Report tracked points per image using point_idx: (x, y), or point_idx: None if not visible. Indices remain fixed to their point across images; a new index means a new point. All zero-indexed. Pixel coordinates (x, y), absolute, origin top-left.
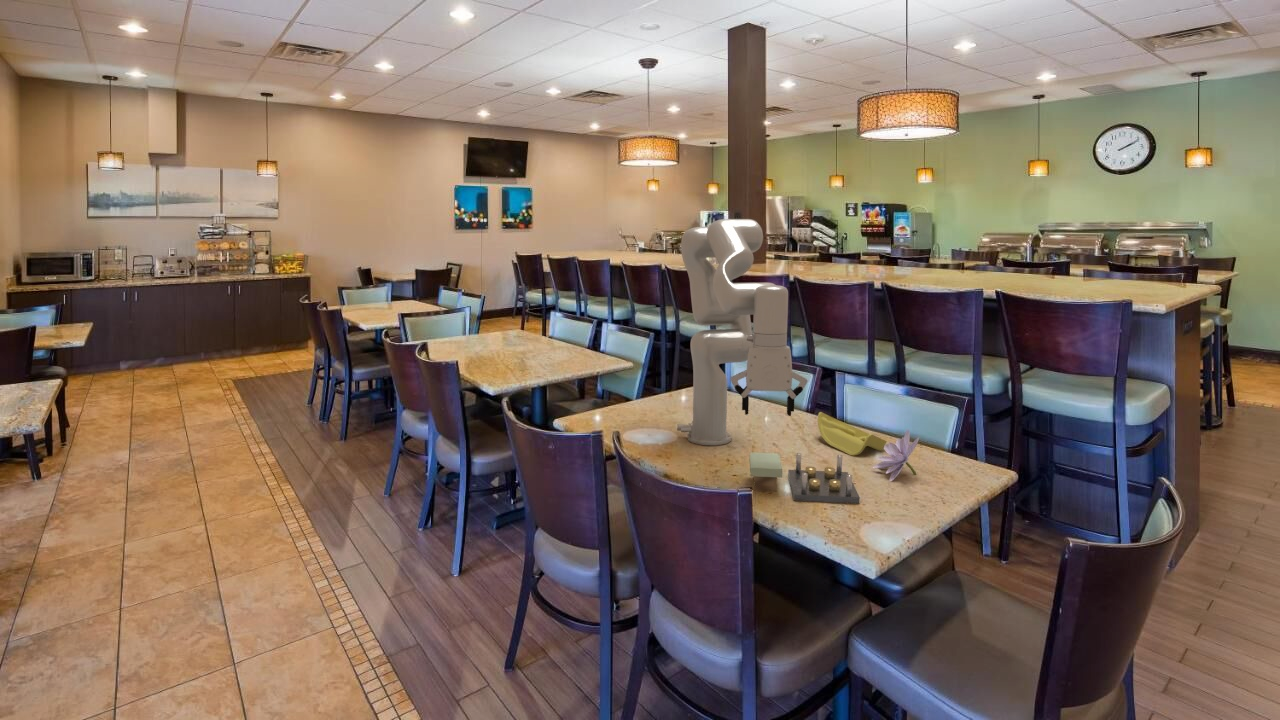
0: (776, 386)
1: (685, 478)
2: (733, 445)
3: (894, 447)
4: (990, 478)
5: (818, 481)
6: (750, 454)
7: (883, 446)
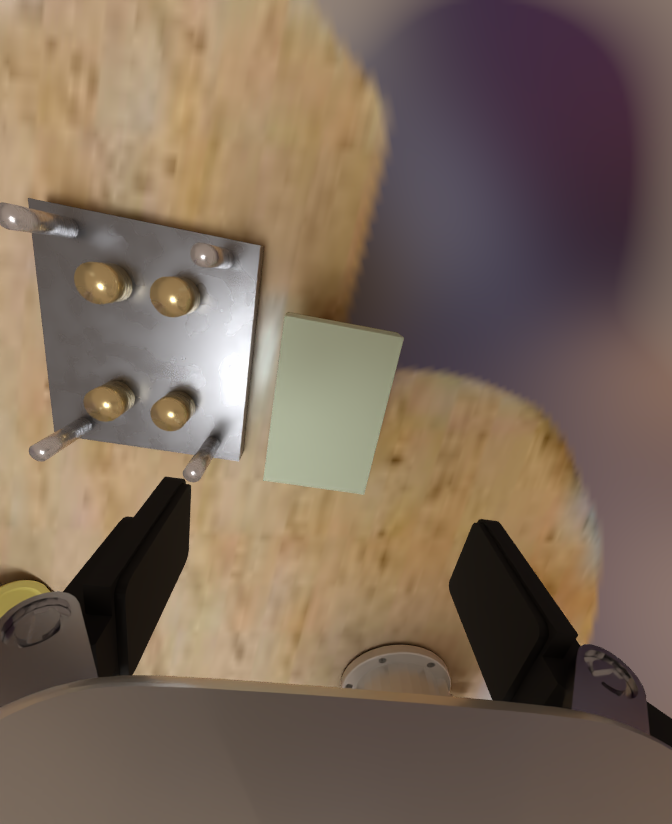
0: (240, 785)
1: (537, 443)
2: (344, 646)
3: None
4: None
5: (157, 284)
6: (366, 474)
7: None
